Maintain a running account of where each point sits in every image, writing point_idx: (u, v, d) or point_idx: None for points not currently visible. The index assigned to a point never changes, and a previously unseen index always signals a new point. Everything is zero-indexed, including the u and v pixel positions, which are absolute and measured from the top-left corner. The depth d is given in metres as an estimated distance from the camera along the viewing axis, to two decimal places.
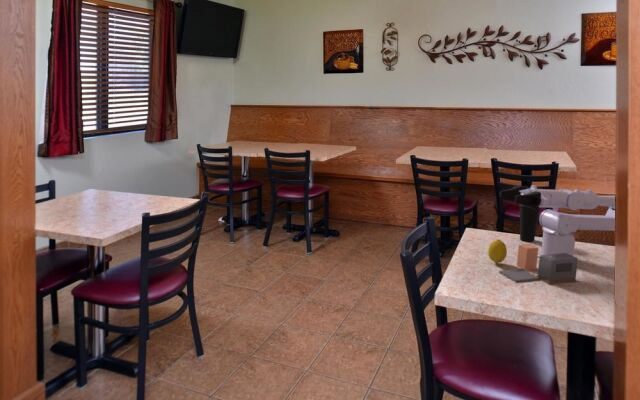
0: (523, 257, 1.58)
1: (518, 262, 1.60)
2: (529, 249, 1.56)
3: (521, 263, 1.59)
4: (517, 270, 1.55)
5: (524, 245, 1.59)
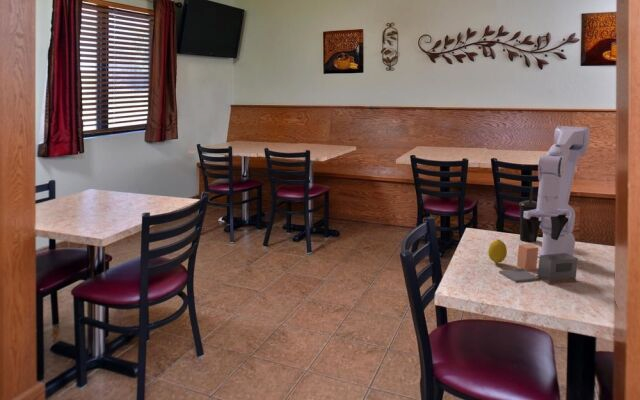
0: (523, 257, 1.58)
1: (518, 262, 1.60)
2: (529, 249, 1.56)
3: (521, 263, 1.59)
4: (517, 270, 1.55)
5: (524, 245, 1.59)
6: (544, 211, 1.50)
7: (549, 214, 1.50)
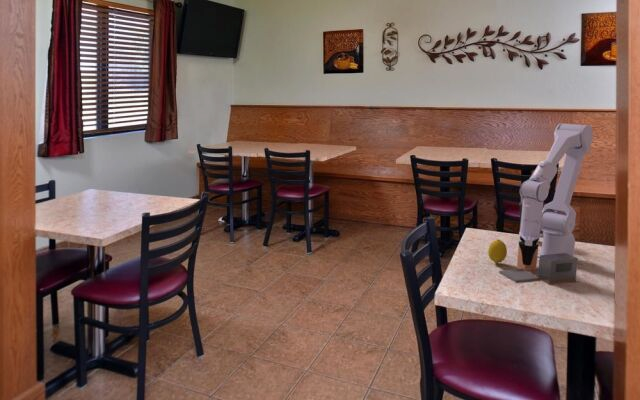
0: None
1: (518, 262, 1.60)
2: None
3: (521, 263, 1.59)
4: (517, 270, 1.55)
5: None
6: (536, 235, 1.55)
7: (539, 236, 1.55)
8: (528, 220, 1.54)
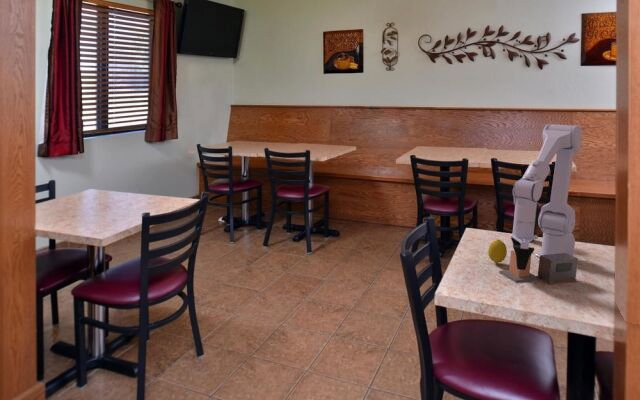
0: (516, 263, 1.50)
1: (510, 269, 1.53)
2: None
3: (514, 270, 1.51)
4: None
5: None
6: (530, 237, 1.47)
7: (533, 238, 1.48)
8: (522, 221, 1.46)
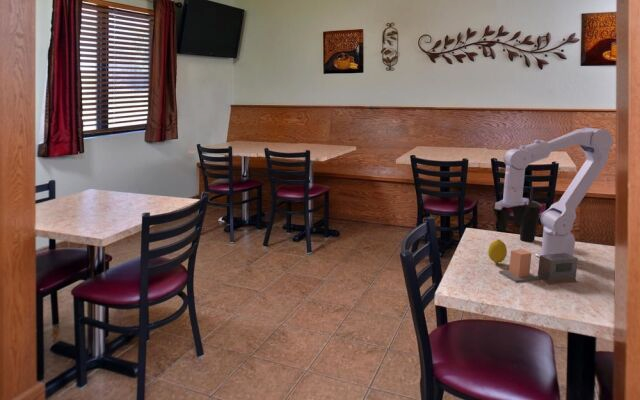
0: (516, 263, 1.50)
1: (510, 269, 1.53)
2: (522, 255, 1.49)
3: (514, 270, 1.51)
4: None
5: (516, 251, 1.51)
6: (512, 201, 1.61)
7: (517, 204, 1.61)
8: (506, 186, 1.61)
